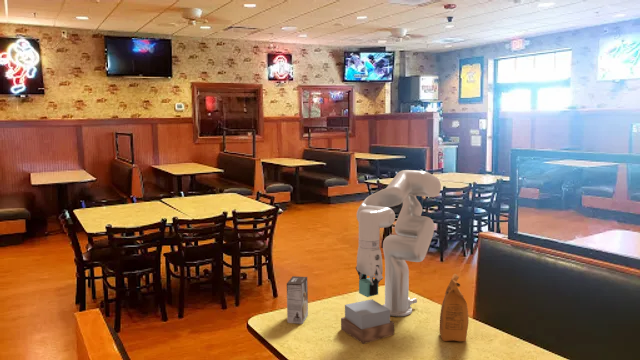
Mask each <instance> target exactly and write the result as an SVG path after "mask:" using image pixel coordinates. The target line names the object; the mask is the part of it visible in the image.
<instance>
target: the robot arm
mask: <svg viewBox="0 0 640 360" xmlns="http://www.w3.org/2000/svg"><path fill="white" fill-rule="evenodd" d="M441 187H442V184H441V180H440V179H439V178H438V176H435V175H433V174H431V173H430V172H428V171H424V170H411V169H410V170H409V169H405V170H404V169H403V170H400V171H398V172H397V173H396V175H395V176H394V177H393V178H392V180H391V181H390V183H389V184H388V185H387V186H386V188H383V189H381V190H378V191H376V192H374V193H372V194H370V195H368V196H367V197H366V198H365V199H364V200H363V201H362V202H361V204H360V205H359V207H358V208H357V211H356V220H357V222H358V247H357V255H356V266H355V270H356V272H357V274H358V279H359V280H361V279H366V278H368V277H369V278H370V282H371V285H370V295H371V296H370V297H373V296H372V295H374V296H377V295H376V294H377V292H378V293H379V283H380V282H381V280H383V278H384V304H382V305H383V306H384V307H386V308H388V309H389V310H390V317H391V316H392V317H405V316H409V315H411V314H412V313H413V308H412V307H411V305H412V304H417V303H418V299H417V298H416V297H413V298H410V297H409V288H410V287H409V285H410V284H409V281H410V276H409V275H410V271H409V265H408V263H407V262H412V263H413V262H415V263H420V262H423V260H425V258H426V256H427V254H428V251H429V247H430V245H431V242H432V239H433V236H434V232H435V224H434V221H433V219H432V218H431V217H429V216H424V215H422V213H423V206H422V204H421V202H420V201H419V200H418V198H417V196H418V197H427V198H436V197H437V196H438V195H440V193H441V189H442V188H441ZM401 204H402V205H401ZM399 205H401V206H402V207H401V209H400V212H399V213H398V217H397V218H396V214H395V211H394V210H393V209H392V208H391V207H395V206H399ZM395 219H396V220H395ZM395 221H396V222H395ZM394 222H395V224H394ZM393 224H394V233H395V234H389V235H388V236H386V237H385V238H384V240H383V242H382V251H381V248H380V238H381V237H380V233H381V232H380V229H384V228H389V227H391V226H392V225H393ZM382 252H383V254H382ZM382 255H383V257H384V269H383V257H382ZM383 270H385V271H383ZM383 272H384V276H383ZM373 279H374V281H373ZM359 280H358V281H359Z"/></svg>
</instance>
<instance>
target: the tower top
mask: <svg viewBox="0 0 640 360" xmlns="http://www.w3.org/2000/svg"><path fill="white" fill-rule="evenodd" d="M383 305H384V304H381V303H379V302H378V301H376V300H374V299H367V300H361V301H357V302H352V303H347V304H344V317H345V318H346V319H348V320H349V321H350V322H352V323H353V324H355V325H356V326H357V327H359V328H360V329H366V328H371V327H375V326H379V325H384V324H388V323H390V321H391V316H390V310H389V309H388V308H386V307H384V306H383Z"/></svg>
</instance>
